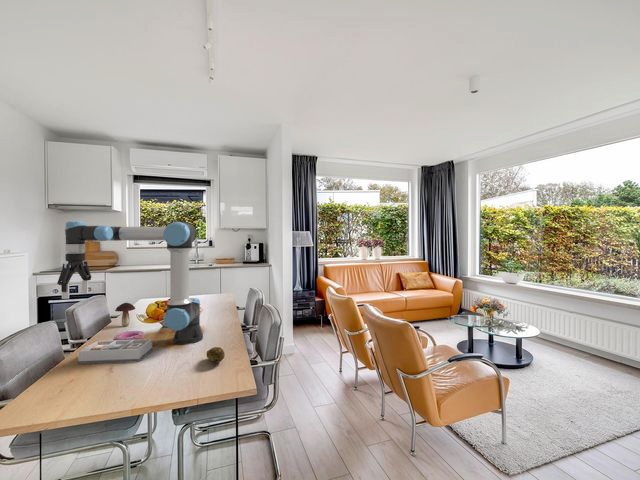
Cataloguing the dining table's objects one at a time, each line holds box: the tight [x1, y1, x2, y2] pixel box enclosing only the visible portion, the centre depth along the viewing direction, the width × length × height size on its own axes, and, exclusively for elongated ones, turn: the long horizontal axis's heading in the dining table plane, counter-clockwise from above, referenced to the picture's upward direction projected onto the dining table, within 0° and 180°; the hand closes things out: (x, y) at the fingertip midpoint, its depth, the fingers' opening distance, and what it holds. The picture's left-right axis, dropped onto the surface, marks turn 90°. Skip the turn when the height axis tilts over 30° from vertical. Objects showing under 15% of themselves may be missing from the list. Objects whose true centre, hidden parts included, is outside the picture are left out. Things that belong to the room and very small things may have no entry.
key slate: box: [109, 344, 125, 350], centre depth 142 cm, size 5×5×3 cm
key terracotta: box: [91, 344, 108, 350], centre depth 141 cm, size 5×5×3 cm
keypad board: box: [77, 338, 154, 365], centre depth 142 cm, size 26×14×6 cm, turn 97°
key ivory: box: [127, 343, 143, 349], centre depth 143 cm, size 5×5×3 cm
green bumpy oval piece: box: [205, 346, 226, 364], centre depth 136 cm, size 8×13×8 cm, turn 16°
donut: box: [112, 330, 145, 340], centre depth 161 cm, size 14×14×5 cm
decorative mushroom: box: [114, 302, 136, 327], centre depth 190 cm, size 11×11×15 cm
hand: (75, 295), depth 147 cm, fingers open, 13 cm apart
